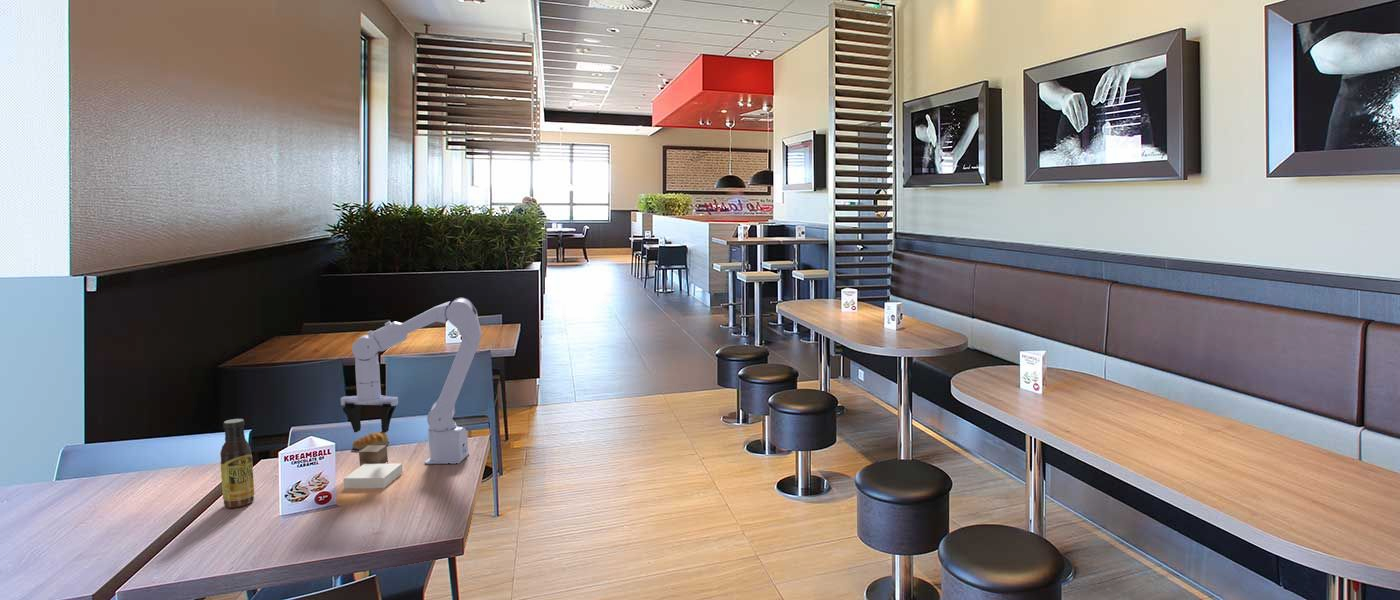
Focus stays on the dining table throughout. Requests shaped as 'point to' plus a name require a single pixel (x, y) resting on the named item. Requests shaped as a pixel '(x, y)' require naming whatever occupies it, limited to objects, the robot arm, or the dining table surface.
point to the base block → (373, 476)
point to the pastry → (371, 440)
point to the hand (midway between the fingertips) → (371, 431)
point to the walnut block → (373, 455)
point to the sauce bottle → (236, 466)
